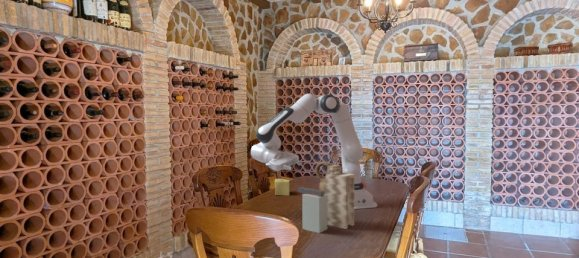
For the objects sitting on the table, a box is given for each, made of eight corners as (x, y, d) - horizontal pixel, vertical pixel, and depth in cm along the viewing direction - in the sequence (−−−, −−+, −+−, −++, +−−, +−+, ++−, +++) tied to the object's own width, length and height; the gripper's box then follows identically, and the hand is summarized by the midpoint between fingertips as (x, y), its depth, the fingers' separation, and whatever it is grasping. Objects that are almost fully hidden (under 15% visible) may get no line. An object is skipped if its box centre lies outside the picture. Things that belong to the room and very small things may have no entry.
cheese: (289, 192, 256) (289, 178, 256) (289, 195, 246) (289, 181, 245) (274, 192, 256) (274, 178, 256) (274, 196, 245) (274, 181, 245)
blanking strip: (297, 192, 180) (297, 188, 180) (301, 191, 182) (301, 187, 182) (320, 196, 171) (320, 192, 171) (324, 195, 173) (324, 190, 173)
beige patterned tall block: (325, 224, 183) (325, 166, 182) (334, 220, 189) (334, 164, 188) (346, 229, 176) (346, 168, 174) (354, 225, 182) (354, 166, 180)
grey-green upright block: (302, 228, 176) (302, 194, 176) (310, 225, 182) (310, 191, 181) (319, 233, 170) (319, 197, 169) (327, 229, 176) (327, 194, 175)
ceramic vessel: (329, 205, 220) (330, 164, 219) (310, 199, 236) (310, 161, 234) (350, 200, 231) (351, 162, 230) (330, 195, 246) (330, 159, 245)
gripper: (264, 158, 188) (285, 166, 180) (286, 149, 204) (307, 156, 197) (263, 169, 189) (284, 177, 182) (285, 159, 206) (305, 166, 199)
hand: (296, 166), depth 190 cm, fingers open, 8 cm apart
